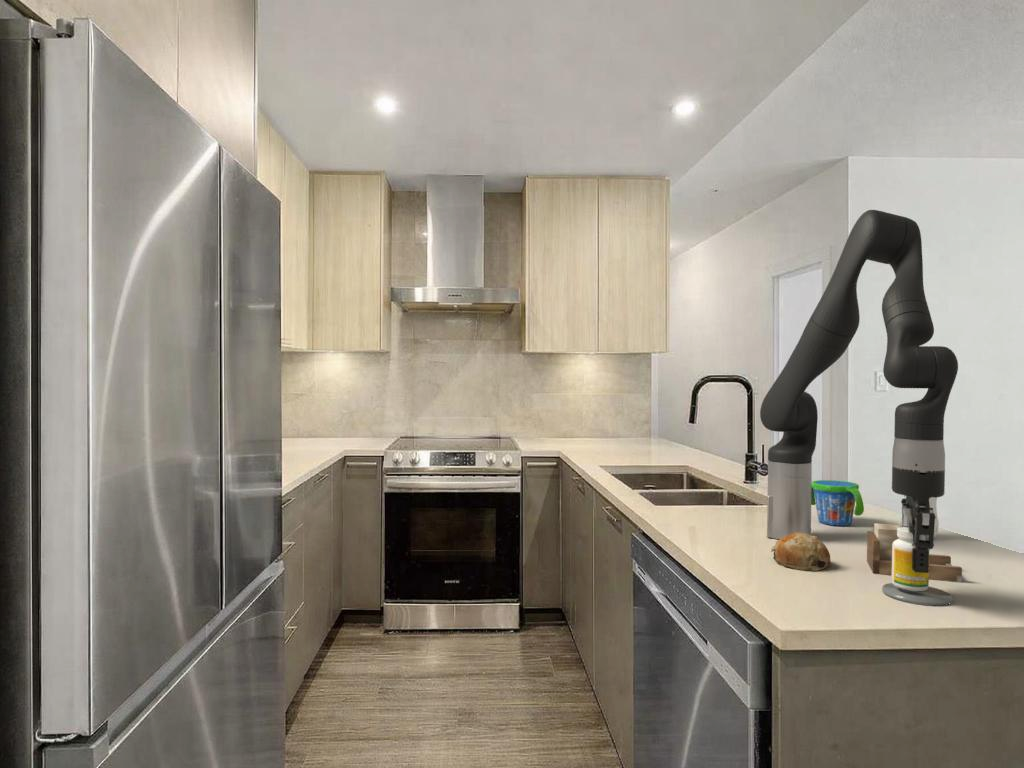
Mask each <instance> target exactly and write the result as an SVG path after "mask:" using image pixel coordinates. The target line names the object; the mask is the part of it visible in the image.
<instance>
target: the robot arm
mask: <svg viewBox="0 0 1024 768" xmlns="http://www.w3.org/2000/svg"><path fill="white" fill-rule="evenodd" d="M922 243H923V242H922V235H921V230H920V226H919V225H918V223H917V222H916V221H915V220H913V219H912V218H909V217H906V216H903V215H902V216H901V215H897V214H894V213H890V212H886V211H882V210H877V209H869V210H866V211H865V212H863V213H862V214H861V215H860V216H859V217H858V219H857V220H856V222H855V223H854V224H853V227H852V228H851V231H850V232H849V235H848V236H847V239H846V242H845V244H844V245H843V249H842V252H841V254H840V256H839V259H838V261H837V263H836V266H835V268H834V271H833V273H832V276H831V277H830V279H829V281H828V283H827V286H826V287H825V289H824V291H823V294H822V295H821V298H820V300H818V303H817V305H816V307H815V308H814V310H813V312H812V314H811V316H810V318H809V320H808V321H807V323H806V326H805V327H804V329H803V331H802V334H801V336H800V338H799V339H798V341H797V344H796V346H795V347H794V349H793V351H792V353H791V355H790V357H789V358H788V360H787V362H786V363H785V364H784V365H785V366H784V367H783V368H782V370H781V372H780V373H779V375H778V376H777V377H776V379H775V380H774V382H773V384H772V385H771V387H770V389H769V390H768V391H767V393H766V394H765V396H764V398H763V400H762V402H761V405H760V410H759V415H760V421H761V424H762V425H763V427H765V429H766V430H768V431H771V432H777V433H778V432H780V433H781V432H782V433H783V434H782V437H781V439H780V441H778V442H777V443H776V444H773V445H772V446H771V447H769V449H768V451H767V498H766V499H767V503H766V504H767V505H766V507H767V509H766V510H767V511H766V512H767V513H766V514H767V515H766V517H767V518H766V519H767V520H766V537H767V538H772V539H775V540H780V539H781V538H782V537H784V536H786V535H788V534H791V533H796V532H799V533H806V534H809V535H811V536H812V505H811V484H812V482H813V481H812V475H813V474H812V473H813V472H812V470H813V469H812V468H813V465H812V462H813V459H812V458H813V455H814V452H815V450H816V446H817V433H818V420H819V419H818V407H817V404H816V403H817V402H816V400H815V399H814V398H815V397H813V396H812V394H810V393H808V392H807V391H806V389H807V388H808V387H809V386H810V384H811V383H812V382H813V381H814V380H815V379H816V378H818V377H819V376H821V374H822V373H824V372H825V371H826V370H828V369H829V368H830V367H831V366H833V364H835V363H836V362H837V361H838V360H839V359H840V358H841V357H842V356H843V355H844V353H845V352H846V350H847V349H848V347H849V345H850V344H851V342H852V341H853V338H855V337H854V336H855V334H856V333H857V331H858V329H859V326H860V309H859V302H858V301H859V300H858V292H857V291H858V290H857V289H858V288H857V285H858V280H859V277H860V274H861V272H862V269H863V267H864V265H865V263H866V262H867V261H872V262H876V263H881V264H885V265H889V266H890V267H891V268H892V269H893V272H894V277H895V278H894V280H893V281H892V283H891V284H890V286H889V287H888V289H887V290H886V292H885V294H884V296H883V298H882V302H881V313H882V319H883V323H884V327H885V331H886V337H887V339H886V353H885V356H884V362H883V372H882V373H883V377H884V378H885V381H886V382H887V383H888V384H889V385H891V386H892V387H894V388H897V389H898V388H899V389H927V391H926V392H925V394H924V396H923V397H922V398H921V399H920V400H916V401H915V400H914V401H910V402H904V403H900V404H899V405H897V406H896V408H895V411H894V438H893V445H892V453H891V454H892V455H891V456H892V457H891V458H892V459H891V463H892V464H891V490H892V492H894V493H895V494H896V495H901V496H904V495H905V496H906V499H904V498H902V499H901V501H900V503H901V527H908V533H909V534H910V535H911V537H912V543H911V546H912V569H913V570H914V571H915V572H921V573H927V572H928V567H929V554H930V551H931V550H933V549H934V546H935V545H934V544H935V543H934V540H935V538H934V525H935V518H936V516H935V514H934V511H933V508H930V503H929V498H931V497H935V498H936V497H937V498H940V497H943V496H945V490H946V488H945V483H946V479H945V478H946V476H945V475H946V474H945V473H946V452H945V444H944V433H945V431H944V427H945V424H944V423H945V422H944V421H945V413H946V409H947V405H948V401H949V398H950V394H951V391H952V389H953V387H954V384H955V381H956V378H957V375H958V371H959V363H958V361H959V360H958V358H957V356H956V354H955V352H954V351H953V350H952V349H950V348H949V347H946V346H943V345H941V346H939V345H936V346H935V345H930V346H928V345H927V346H926V345H925V344H926V343H928V342H929V341H930V340H932V338H933V336H934V334H935V327H934V323H933V319H932V316H931V313H930V309H929V305H928V302H927V296H926V294H925V289H924V262H923V244H922ZM924 345H925V346H924ZM914 528H915V529H914ZM920 535H924V536H925V539H924V540H919V536H920Z"/></svg>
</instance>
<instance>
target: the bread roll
mask: <svg viewBox="0 0 1024 768" xmlns="http://www.w3.org/2000/svg"><path fill="white" fill-rule="evenodd" d="M770 552H771V553H772V552H773V560H774V561H775V563H776V564H778V565H779V566H781V565H782V567H783V566H784V568H789V569H793V570H797V571H806V572H809V571H810V572H817V571H821V570H825V569H828V567H829V566H830V564H831V554H830V551H829V549H828V547H827V546H826V545H825V544H824V543H823V542H822V541H821V540H820V539H819V538H818V536H816V535H812V534H811V535H809V534H806V533H799V532H796V533H791V534H788V535H786V536H784V537H782V538H781V539H777V541H776V540H775V545H774V546H772V547H771V548H770Z"/></svg>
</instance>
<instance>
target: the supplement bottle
mask: <svg viewBox="0 0 1024 768" xmlns="http://www.w3.org/2000/svg"><path fill="white" fill-rule="evenodd" d="M899 527H900V526H899ZM914 529H915V528H914ZM897 537H899V539H897V540H895V541H894V542H893V544H892V575H890V576H891V583H892V584H893V585H894V586H896V587H899V588H902V589H906V590H911V591H924V590H927V589H928V586H929V585H930V584H929V582H930V581H929V580H930V579H929V567H928V572H927V573H921V572H915V571H914V570H913V569H912V546H911V543H912V537H911V535H910V534H909V533H908V527H902V526H901V527H900V528H898V529H897ZM919 540H925V536H924V535H920V536H919ZM929 587H930V586H929Z"/></svg>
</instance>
